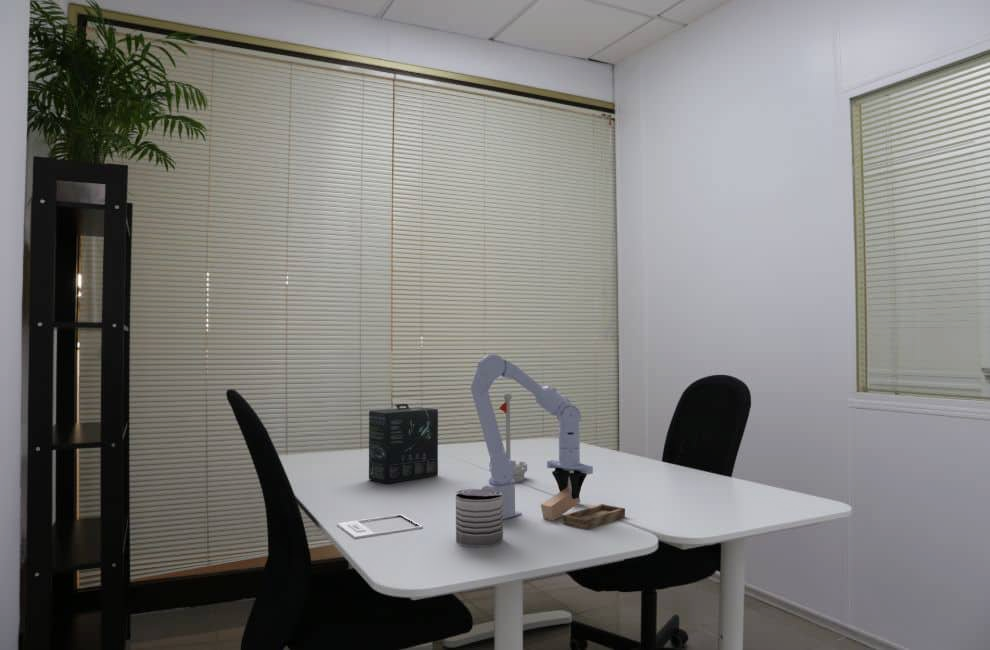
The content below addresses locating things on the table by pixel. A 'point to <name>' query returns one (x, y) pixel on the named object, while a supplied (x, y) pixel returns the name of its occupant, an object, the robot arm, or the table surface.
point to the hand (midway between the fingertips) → (569, 497)
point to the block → (558, 504)
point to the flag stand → (522, 466)
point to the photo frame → (361, 531)
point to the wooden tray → (593, 516)
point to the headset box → (403, 444)
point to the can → (479, 518)
